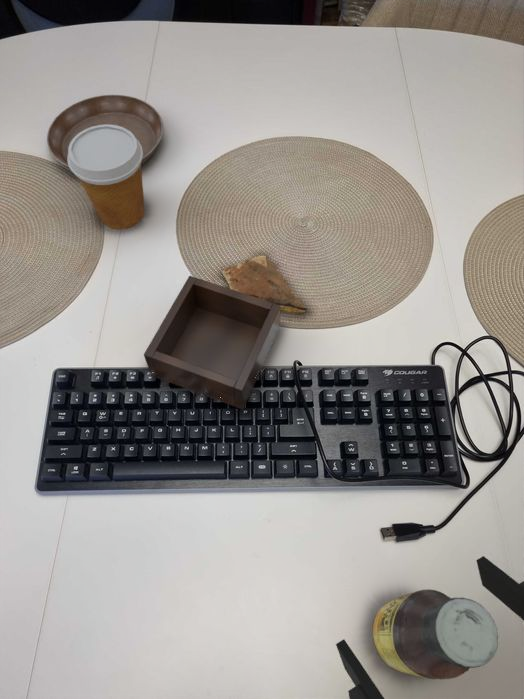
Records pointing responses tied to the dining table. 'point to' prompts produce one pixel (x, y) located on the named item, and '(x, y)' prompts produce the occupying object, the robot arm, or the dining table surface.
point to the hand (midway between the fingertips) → (415, 610)
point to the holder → (214, 341)
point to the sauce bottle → (434, 634)
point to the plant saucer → (106, 122)
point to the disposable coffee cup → (110, 173)
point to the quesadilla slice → (263, 283)
